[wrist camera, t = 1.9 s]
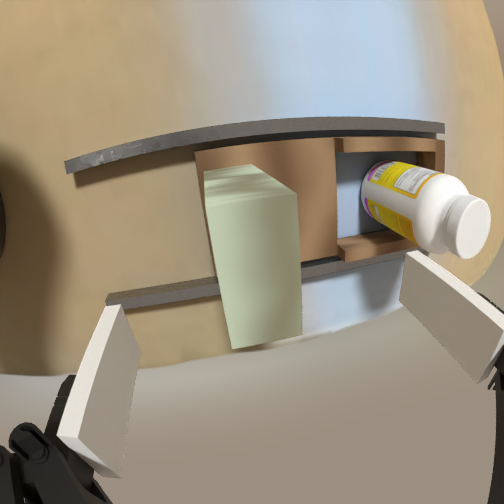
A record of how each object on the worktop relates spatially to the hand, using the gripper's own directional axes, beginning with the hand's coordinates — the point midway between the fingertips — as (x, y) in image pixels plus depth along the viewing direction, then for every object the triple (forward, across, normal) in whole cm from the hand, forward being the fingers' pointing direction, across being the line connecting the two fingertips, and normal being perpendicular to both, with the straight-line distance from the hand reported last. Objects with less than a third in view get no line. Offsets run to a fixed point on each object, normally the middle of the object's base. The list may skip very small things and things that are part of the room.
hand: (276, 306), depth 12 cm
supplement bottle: (+16, +16, 0) cm, 22 cm away
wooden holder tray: (+15, +9, 0) cm, 18 cm away
